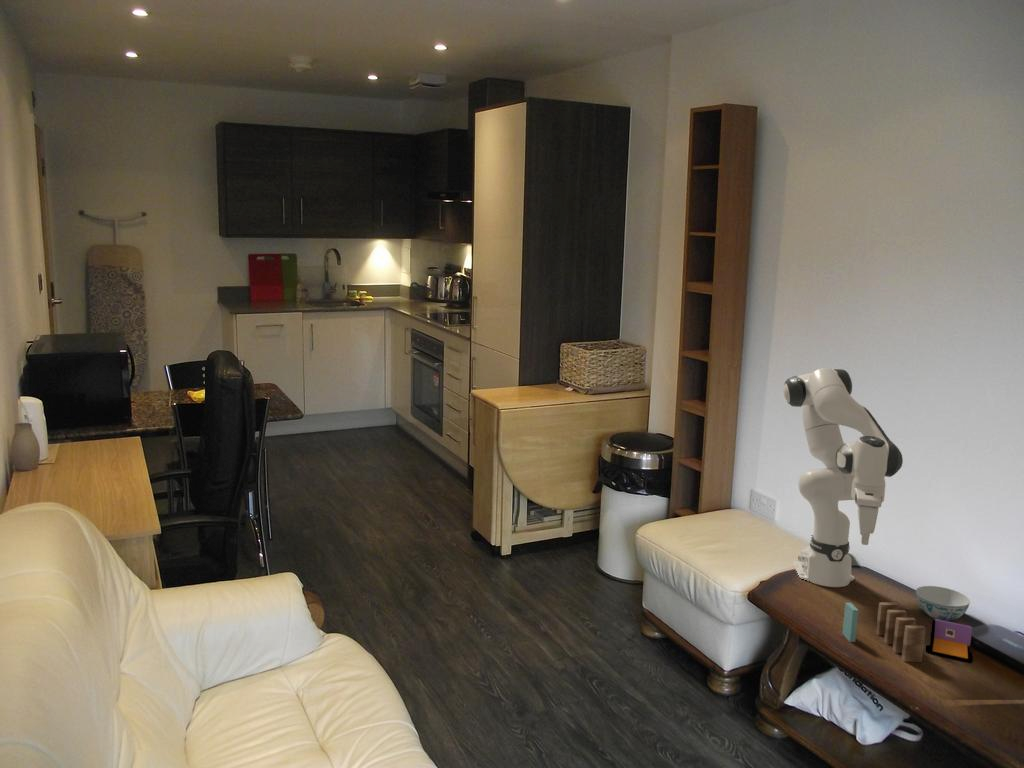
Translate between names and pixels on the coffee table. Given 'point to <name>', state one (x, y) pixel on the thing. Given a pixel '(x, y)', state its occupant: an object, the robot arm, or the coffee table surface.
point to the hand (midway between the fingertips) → (864, 539)
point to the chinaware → (942, 602)
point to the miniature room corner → (950, 641)
